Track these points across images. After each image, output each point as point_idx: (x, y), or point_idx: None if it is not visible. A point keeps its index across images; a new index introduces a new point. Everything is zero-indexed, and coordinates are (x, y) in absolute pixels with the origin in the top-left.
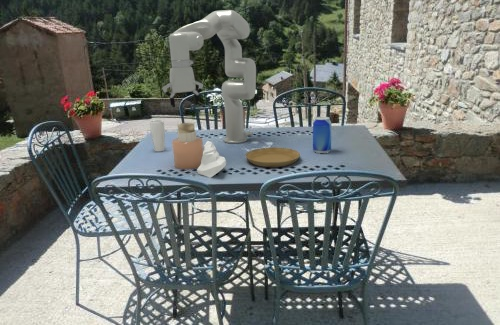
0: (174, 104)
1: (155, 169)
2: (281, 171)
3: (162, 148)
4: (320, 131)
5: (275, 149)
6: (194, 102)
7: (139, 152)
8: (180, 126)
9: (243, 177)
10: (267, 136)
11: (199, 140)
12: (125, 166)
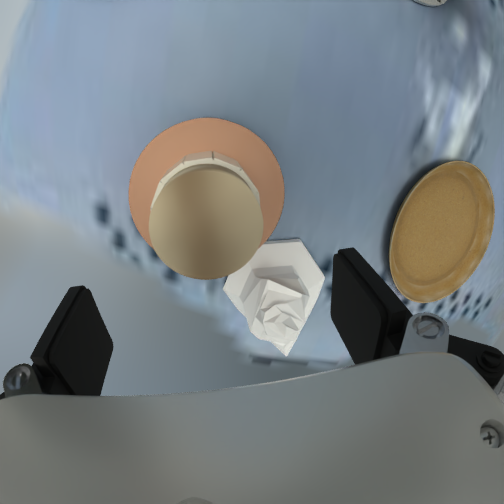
0: (105, 363)
1: (89, 195)
2: (411, 311)
3: None
4: None
5: (476, 173)
6: (339, 277)
7: None
8: (167, 265)
9: (329, 331)
10: (489, 6)
11: (265, 225)
12: (4, 137)
